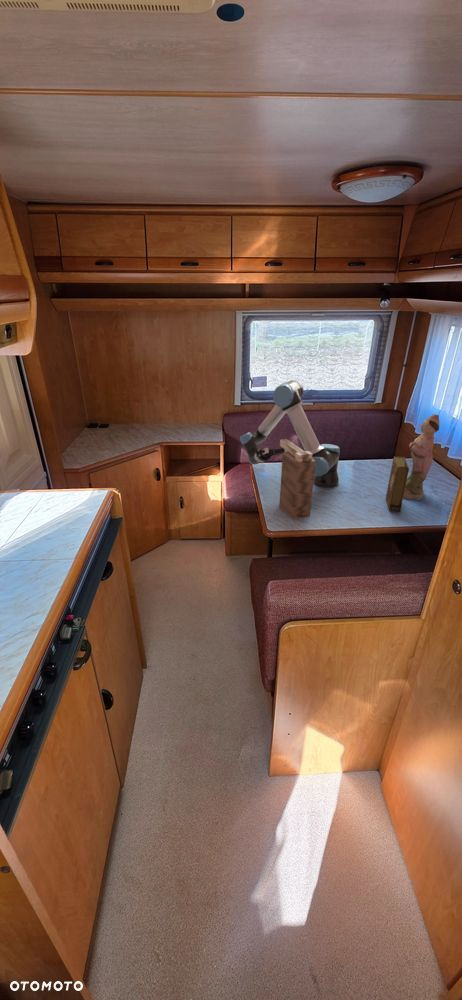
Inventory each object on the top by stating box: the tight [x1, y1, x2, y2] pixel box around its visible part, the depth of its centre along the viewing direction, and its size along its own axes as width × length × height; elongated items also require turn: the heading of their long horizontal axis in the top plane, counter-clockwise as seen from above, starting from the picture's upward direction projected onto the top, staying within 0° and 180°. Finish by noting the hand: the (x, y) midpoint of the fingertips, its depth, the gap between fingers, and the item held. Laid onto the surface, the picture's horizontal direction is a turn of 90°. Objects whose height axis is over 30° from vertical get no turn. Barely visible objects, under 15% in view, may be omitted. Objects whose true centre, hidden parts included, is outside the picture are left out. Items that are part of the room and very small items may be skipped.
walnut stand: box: [278, 452, 316, 520], centre depth 216 cm, size 10×15×30 cm, turn 20°
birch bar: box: [279, 438, 312, 462], centre depth 213 cm, size 7×24×3 cm, turn 20°
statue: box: [403, 414, 441, 500], centre depth 233 cm, size 16×17×45 cm
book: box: [385, 455, 410, 513], centre depth 224 cm, size 16×6×25 cm, turn 168°
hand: (279, 448), depth 230 cm, fingers open, 13 cm apart
